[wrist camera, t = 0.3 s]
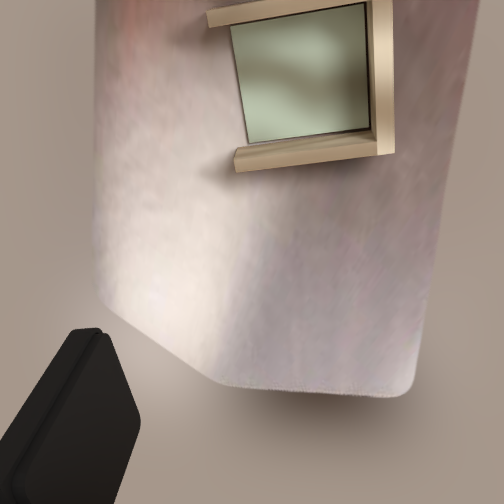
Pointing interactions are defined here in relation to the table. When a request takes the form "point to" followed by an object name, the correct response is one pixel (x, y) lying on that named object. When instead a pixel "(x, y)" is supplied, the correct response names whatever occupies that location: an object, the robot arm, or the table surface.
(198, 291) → the table surface
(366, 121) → the comb rack
